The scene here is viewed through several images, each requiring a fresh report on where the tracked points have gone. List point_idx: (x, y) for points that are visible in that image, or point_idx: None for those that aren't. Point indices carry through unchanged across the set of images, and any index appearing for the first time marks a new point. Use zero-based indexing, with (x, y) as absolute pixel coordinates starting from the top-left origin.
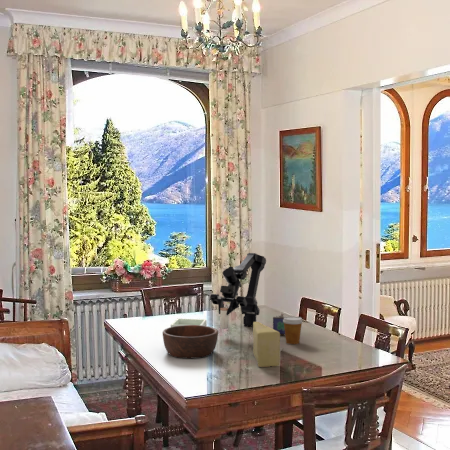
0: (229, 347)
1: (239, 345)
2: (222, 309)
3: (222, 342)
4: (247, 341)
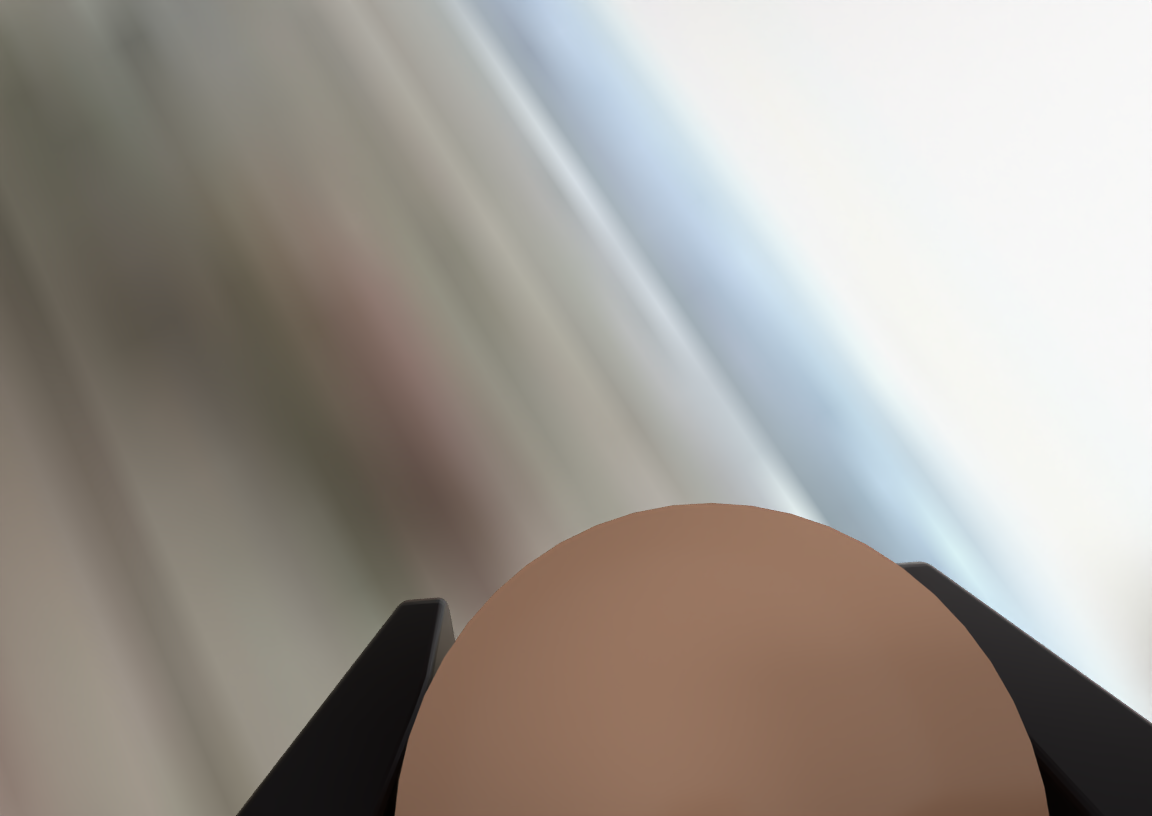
0: (162, 75)
1: (48, 283)
2: (688, 512)
3: (452, 315)
4: (14, 659)
